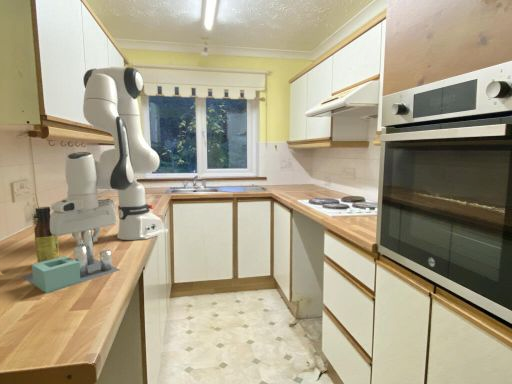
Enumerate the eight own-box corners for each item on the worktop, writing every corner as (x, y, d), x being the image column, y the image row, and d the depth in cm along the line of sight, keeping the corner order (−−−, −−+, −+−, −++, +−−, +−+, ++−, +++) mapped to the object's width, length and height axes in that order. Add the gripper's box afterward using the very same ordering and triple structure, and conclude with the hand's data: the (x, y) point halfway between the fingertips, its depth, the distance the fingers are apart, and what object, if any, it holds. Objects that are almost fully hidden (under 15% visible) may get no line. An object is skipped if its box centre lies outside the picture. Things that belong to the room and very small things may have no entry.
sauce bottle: (62, 265, 109) (57, 207, 106) (41, 270, 105) (35, 210, 102) (56, 260, 113) (51, 205, 111) (35, 265, 109) (29, 207, 106)
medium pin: (85, 272, 101) (83, 244, 99) (90, 275, 99) (88, 246, 97) (74, 276, 98) (72, 247, 97) (79, 278, 96) (76, 249, 95)
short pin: (108, 266, 105) (107, 249, 105) (113, 269, 103) (112, 251, 103) (99, 269, 103) (97, 251, 102) (104, 272, 101) (102, 253, 100)
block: (67, 274, 99) (65, 255, 98) (80, 281, 94) (79, 262, 93) (33, 284, 92) (31, 264, 91) (46, 292, 87) (43, 271, 86)
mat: (90, 258, 115) (90, 257, 115) (120, 271, 103) (120, 269, 103) (21, 277, 99) (20, 275, 98) (47, 295, 86) (46, 293, 86)
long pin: (91, 260, 111) (88, 220, 109) (95, 262, 109) (92, 222, 107) (81, 263, 108) (78, 222, 106) (86, 265, 106) (82, 224, 104)
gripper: (109, 197, 116) (112, 234, 118) (45, 205, 100) (49, 248, 102) (118, 198, 112) (121, 237, 114) (53, 207, 96) (58, 252, 98)
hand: (87, 242), depth 108 cm, fingers closed on long pin, 3 cm apart
